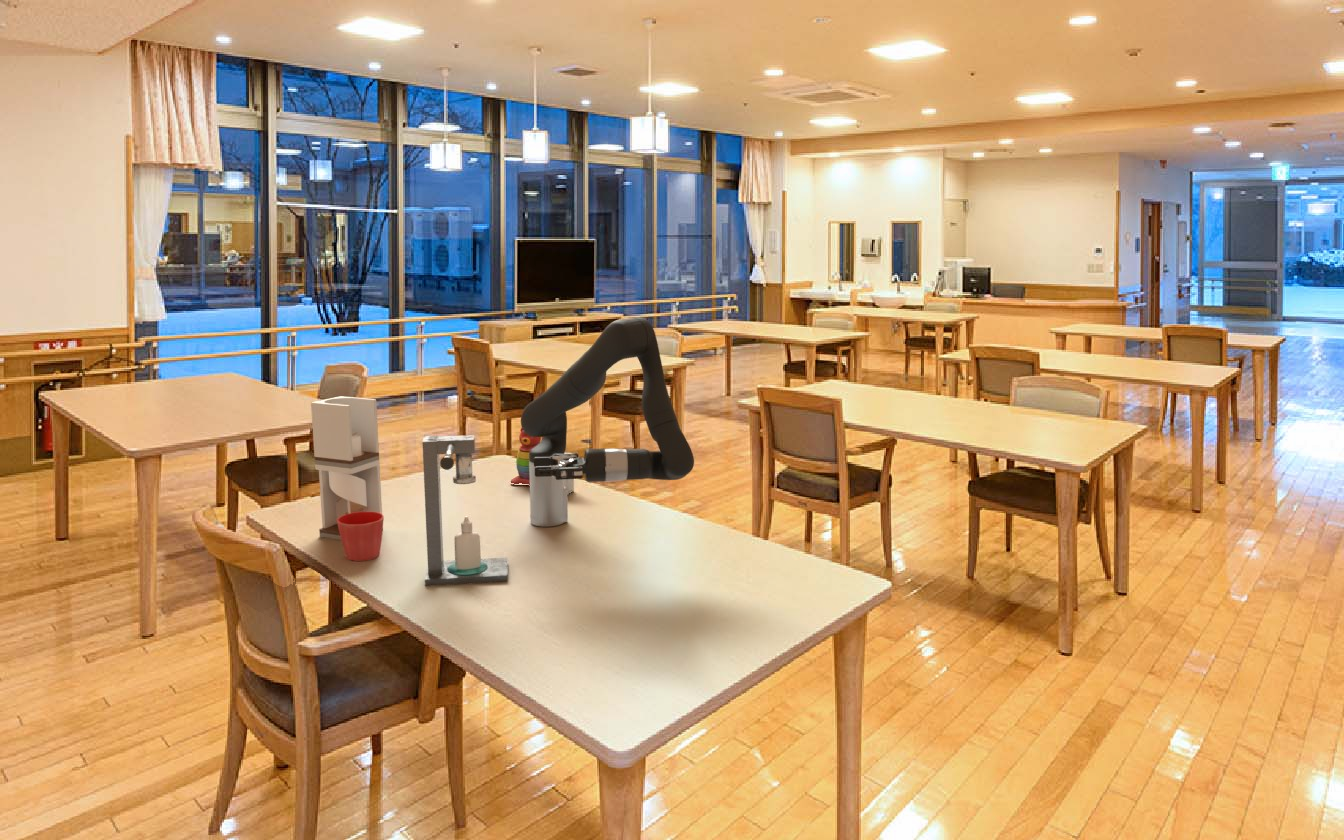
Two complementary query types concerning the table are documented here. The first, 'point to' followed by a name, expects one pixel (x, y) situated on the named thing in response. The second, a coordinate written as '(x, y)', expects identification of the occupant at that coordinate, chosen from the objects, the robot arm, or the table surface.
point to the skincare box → (569, 483)
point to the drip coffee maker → (346, 458)
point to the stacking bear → (524, 457)
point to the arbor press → (437, 567)
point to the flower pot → (361, 534)
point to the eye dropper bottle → (467, 547)
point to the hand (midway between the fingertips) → (534, 466)
